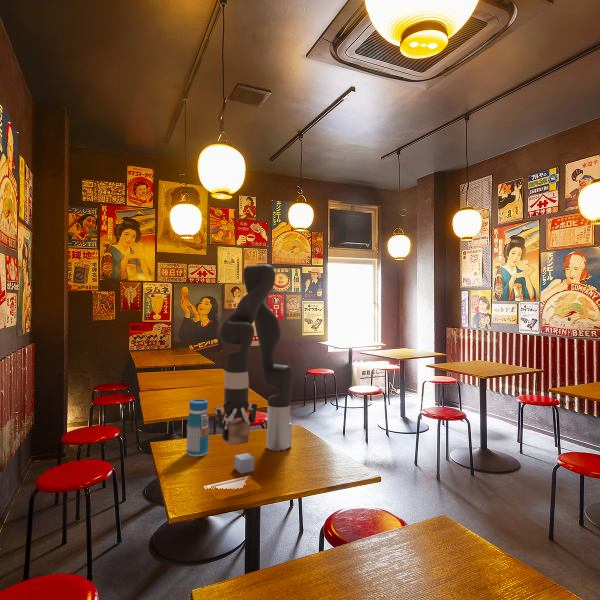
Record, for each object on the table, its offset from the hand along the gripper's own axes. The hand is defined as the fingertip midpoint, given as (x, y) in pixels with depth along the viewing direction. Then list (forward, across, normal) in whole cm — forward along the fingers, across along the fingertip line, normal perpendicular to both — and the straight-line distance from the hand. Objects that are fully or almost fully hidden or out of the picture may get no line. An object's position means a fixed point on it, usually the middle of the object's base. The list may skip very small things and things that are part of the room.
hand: (235, 438), depth 134 cm
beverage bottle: (+16, -1, -35) cm, 39 cm away
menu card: (+16, 0, 0) cm, 16 cm away
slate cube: (+16, -9, -11) cm, 21 cm away
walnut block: (+1, 0, 0) cm, 1 cm away
